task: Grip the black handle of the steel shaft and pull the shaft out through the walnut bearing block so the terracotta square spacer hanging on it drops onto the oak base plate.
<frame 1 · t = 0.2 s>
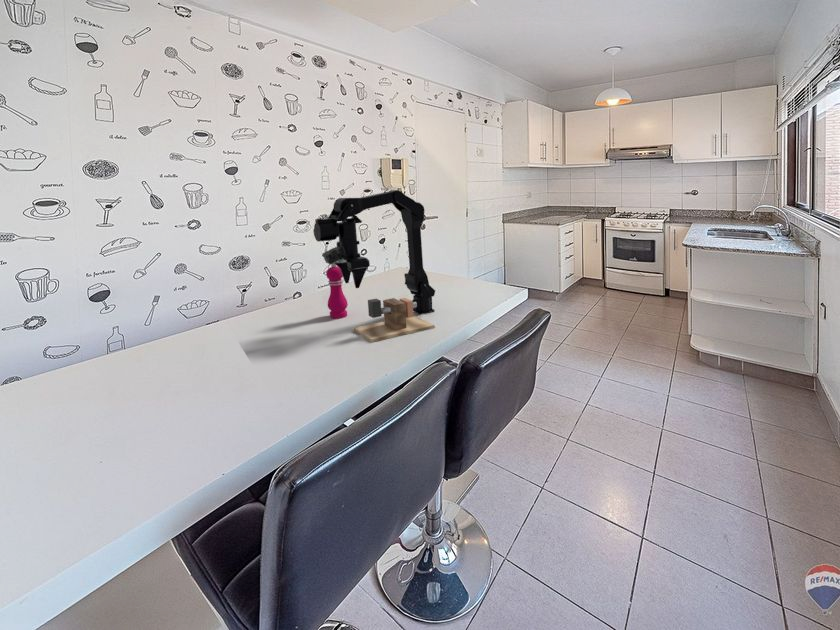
hand: (352, 285, 148), 14 cm above the table, tool pointing down, fingers open, 9 cm apart
base plate: (394, 329, 148), on the table
shaft: (393, 304, 146), point 8 cm above the table, slide at 0.0 cm, touching spacer
spacer: (406, 315, 150), point 4 cm above the table, touching shaft
bearing block: (395, 328, 149), resting on base plate
pepper mill: (338, 316, 165), on the table
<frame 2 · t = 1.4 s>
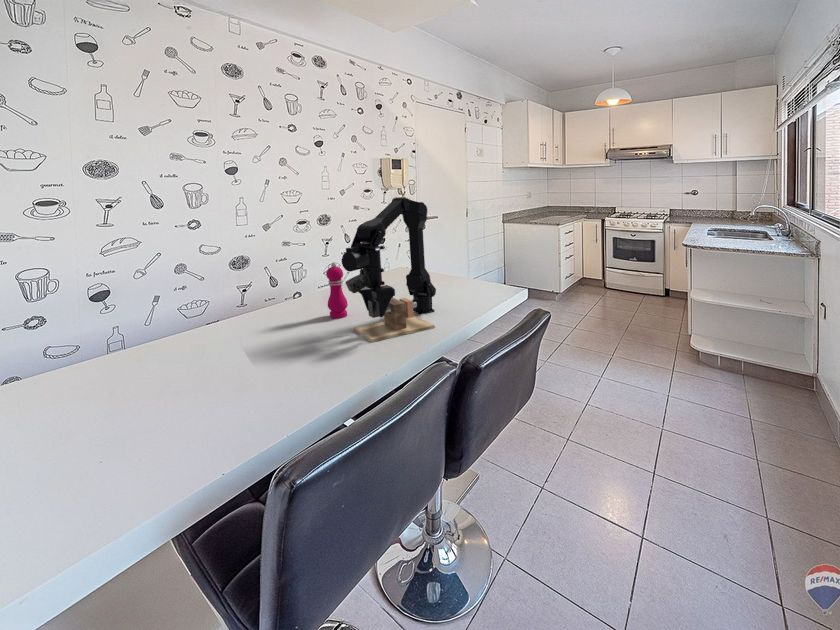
hand: (375, 313, 143), 7 cm above the table, tool pointing down, fingers open, 9 cm apart
nothing on the table moved.
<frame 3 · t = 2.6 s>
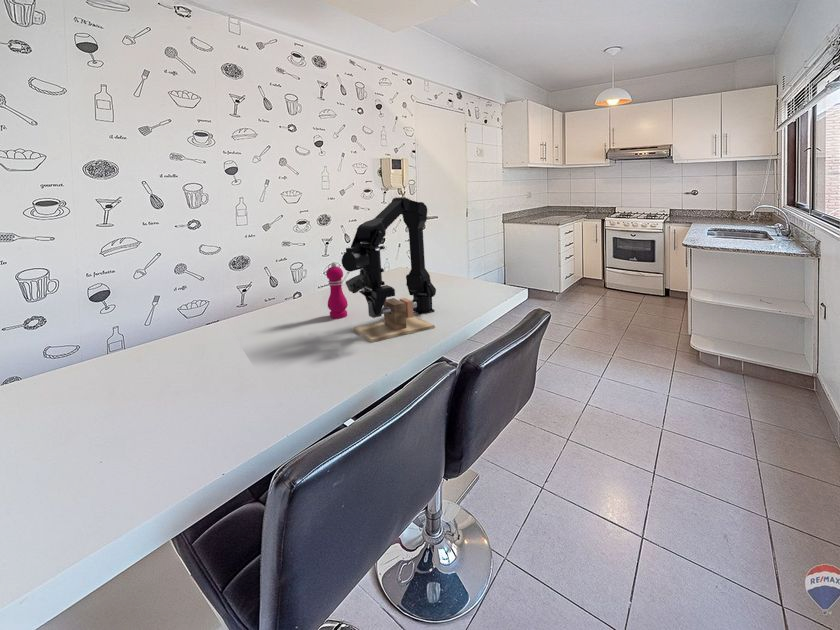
hand: (375, 313, 143), 7 cm above the table, tool pointing down, fingers closed on shaft, 3 cm apart
shaft: (393, 304, 146), point 8 cm above the table, slide at 0.0 cm, touching gripper, spacer
everything else where it was.
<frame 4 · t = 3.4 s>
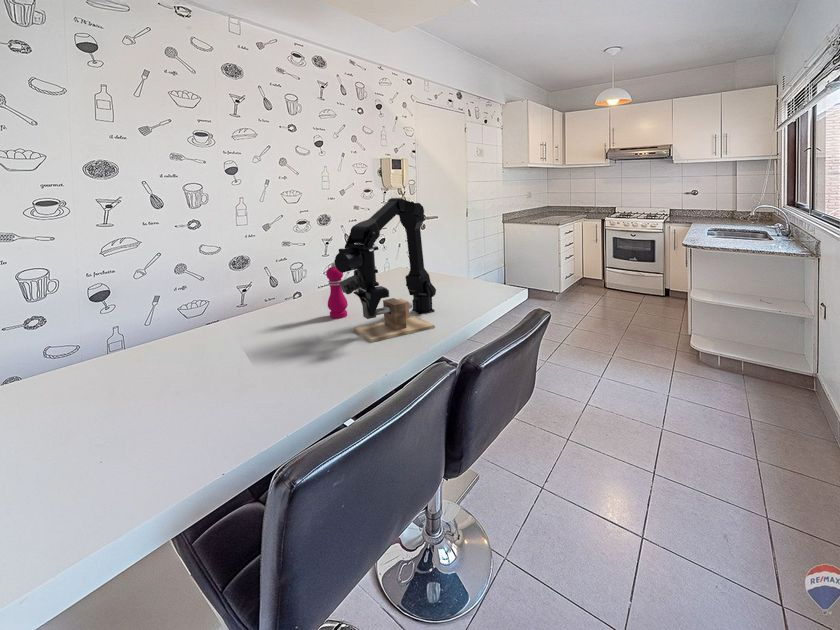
hand: (369, 314, 142), 7 cm above the table, tool pointing down, fingers closed on shaft, 3 cm apart
shaft: (388, 305, 145), point 8 cm above the table, slide at 1.9 cm, touching gripper
spacer: (402, 316, 149), point 4 cm above the table, touching bearing block
everything else where it was.
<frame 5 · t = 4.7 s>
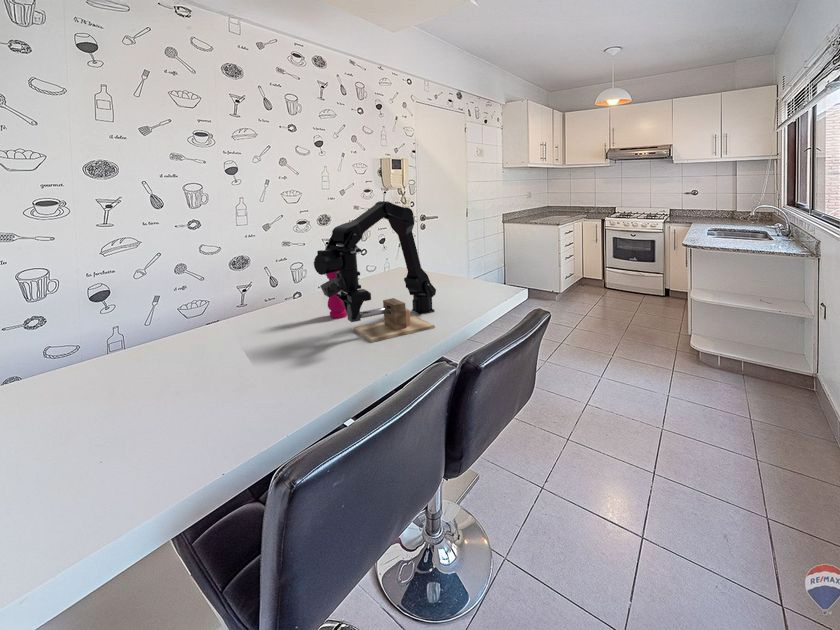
hand: (352, 318, 139), 7 cm above the table, tool pointing down, fingers closed on shaft, 3 cm apart
shaft: (373, 308, 142), point 8 cm above the table, slide at 7.3 cm, touching gripper
spacer: (403, 324, 150), point 1 cm above the table, touching base plate
everything else where it was.
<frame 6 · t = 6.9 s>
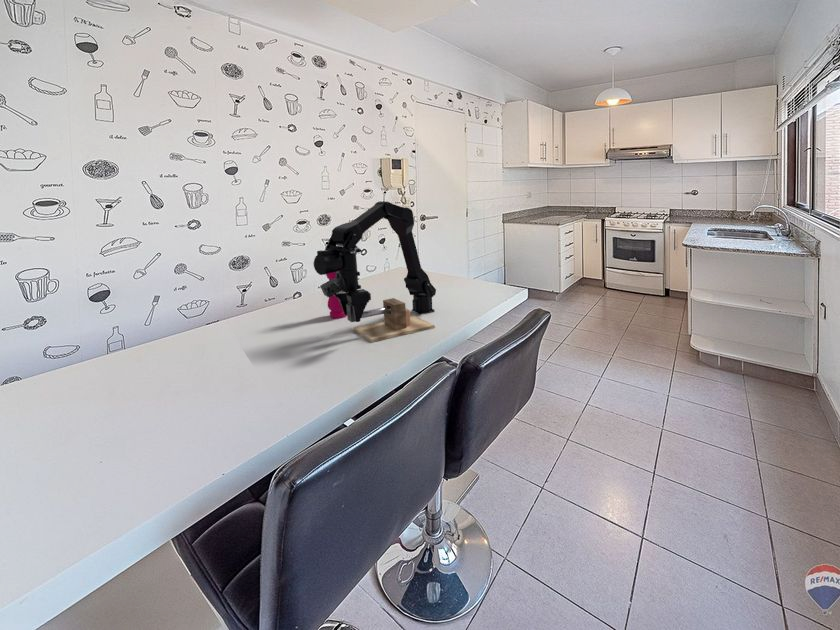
hand: (351, 318, 139), 7 cm above the table, tool pointing down, fingers open, 9 cm apart
shaft: (373, 308, 142), point 8 cm above the table, slide at 7.3 cm
everything else where it was.
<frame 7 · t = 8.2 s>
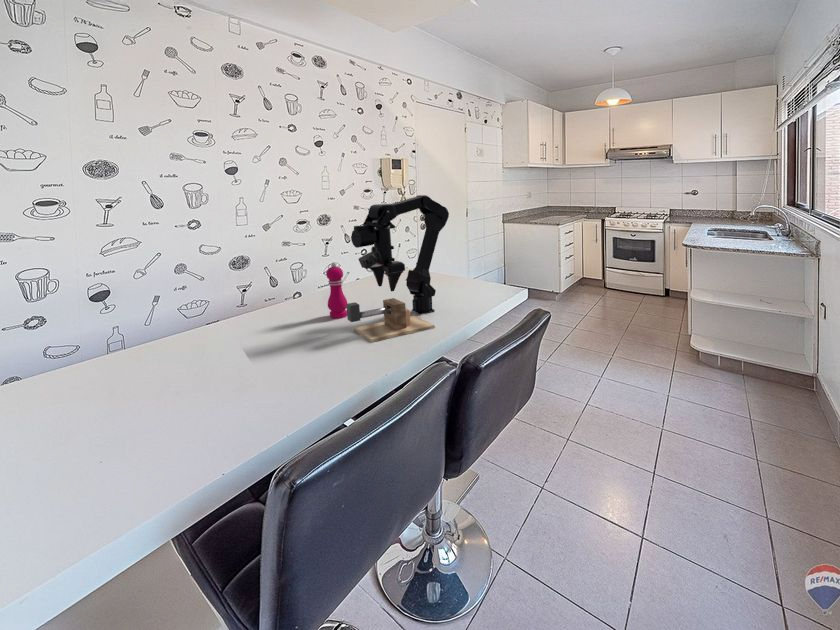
hand: (386, 288, 154), 12 cm above the table, tool pointing down, fingers open, 9 cm apart
nothing on the table moved.
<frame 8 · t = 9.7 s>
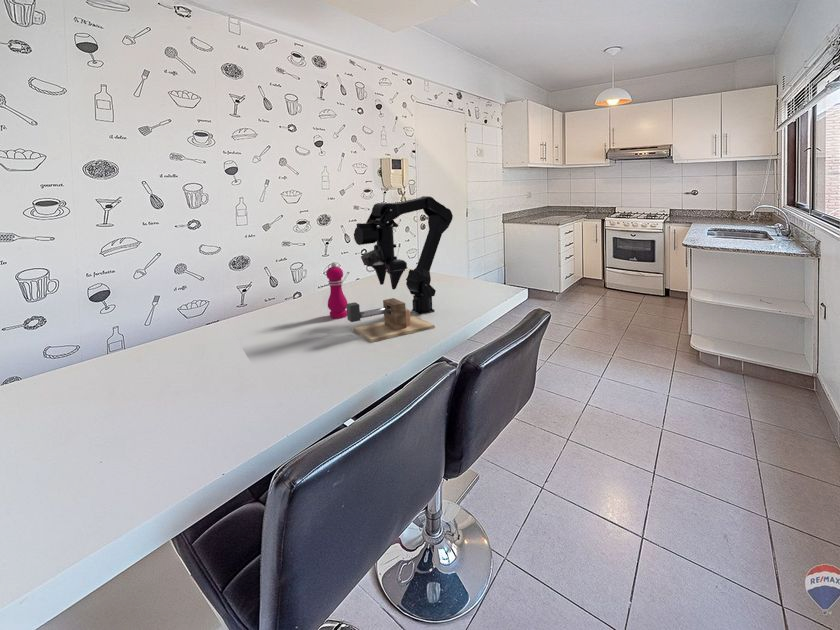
hand: (387, 286, 155), 12 cm above the table, tool pointing down, fingers open, 9 cm apart
nothing on the table moved.
at the end: shaft slide at 7.3 cm; spacer point 1.0 cm above the table; spacer touching base plate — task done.
